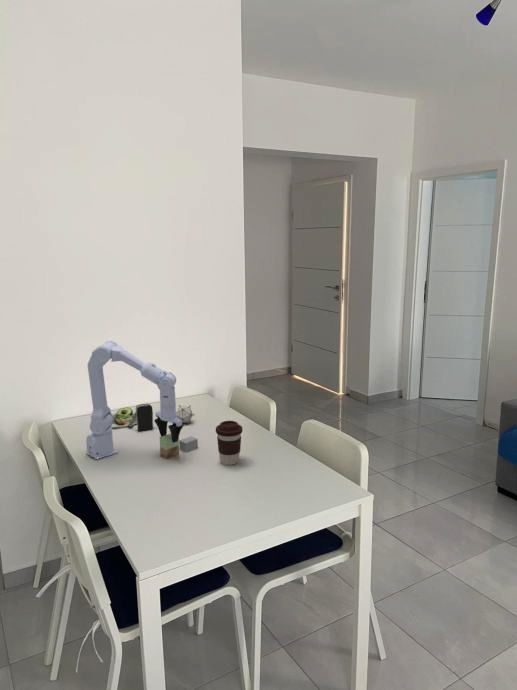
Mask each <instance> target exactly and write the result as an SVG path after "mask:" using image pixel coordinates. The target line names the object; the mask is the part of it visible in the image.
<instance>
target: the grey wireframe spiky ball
mask: <svg viewBox="0 0 517 690" xmlns="http://www.w3.org/2000/svg"><path fill="white" fill-rule="evenodd" d="M176 414H178V416H177V417H178V418H179V419H180V420H182V424H184V423H187V424H189V425H190V421H191V420H192V418H193V416H195V414H194V413H193V411H192V409H191V405H189V406H181V405H180V404H179V405H178V409H177V410H176Z"/></svg>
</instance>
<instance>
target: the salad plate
mask: <svg viewBox="0 0 517 690" xmlns="http://www.w3.org/2000/svg"><path fill="white" fill-rule="evenodd" d="M111 414H112V415H113V417H114V422H113V424H116V425H113V424H112V425H111V427H112V429H124V428H130V427H132V426H133V427H134V426H135V425H137V417H136V411H135V412H134V411H133V409H132V408H131V407H127V406H126V407H121V408H120V409H117V412H115V413H111Z"/></svg>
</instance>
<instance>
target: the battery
mask: <svg viewBox="0 0 517 690" xmlns="http://www.w3.org/2000/svg"><path fill="white" fill-rule="evenodd" d="M135 412H136V417H137V424H136V425H137V431H138V432H143V431H150V430H154V421H153V420H154V413H153V406H152V405H151V404H150V403H140V404H138V405H136V407H135Z"/></svg>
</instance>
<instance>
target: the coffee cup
mask: <svg viewBox="0 0 517 690" xmlns="http://www.w3.org/2000/svg"><path fill="white" fill-rule="evenodd" d="M242 433H243V426H242V425H241V424H239V423H238V421H235V420H225V421H221V422H220V423H219V424H218V425H216V427H215V434H217V438H216V439H217V451H218V454H219V461H220V463H221V464H223V465H227V466H232V465H236V464H238V462H239V461H240V452H241V448H242V447H241V445H242V435H241V434H242Z"/></svg>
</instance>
